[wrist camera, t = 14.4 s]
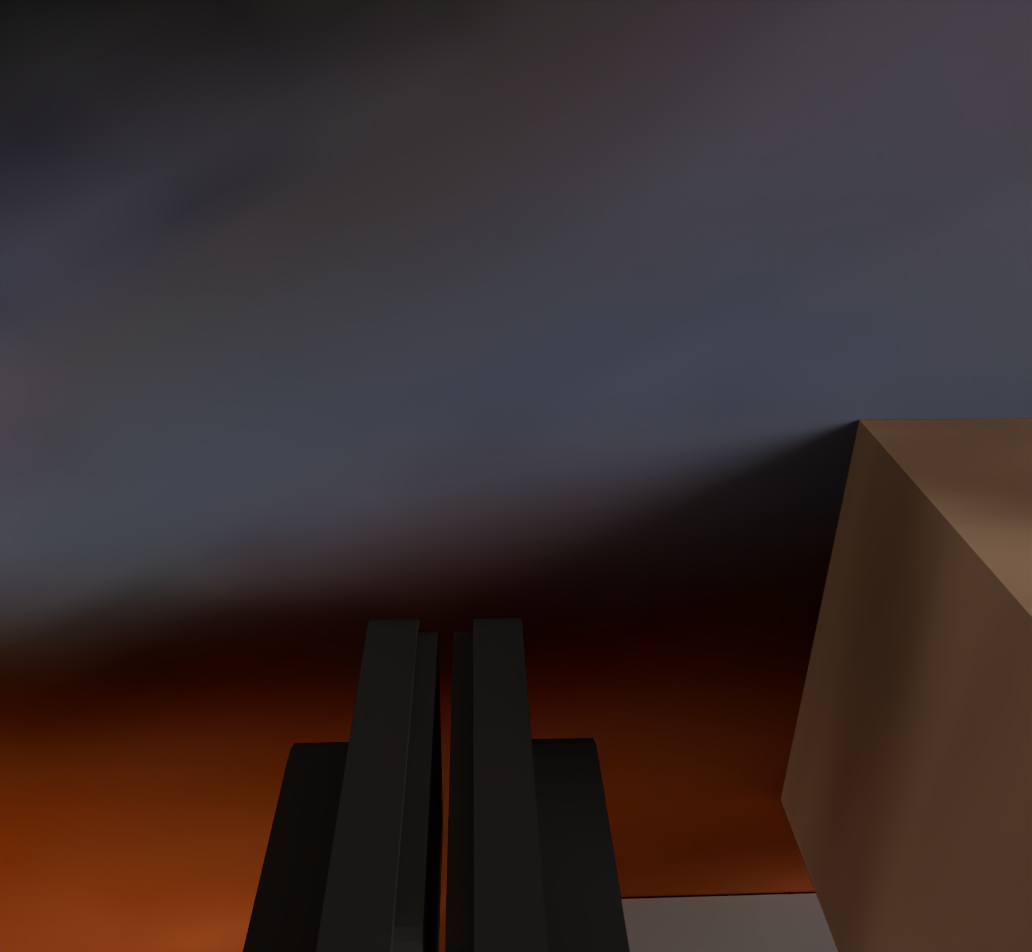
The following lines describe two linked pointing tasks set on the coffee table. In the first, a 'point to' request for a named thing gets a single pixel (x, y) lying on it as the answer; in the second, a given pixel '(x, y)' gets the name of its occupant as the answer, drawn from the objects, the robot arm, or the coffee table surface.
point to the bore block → (728, 924)
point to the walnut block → (923, 695)
